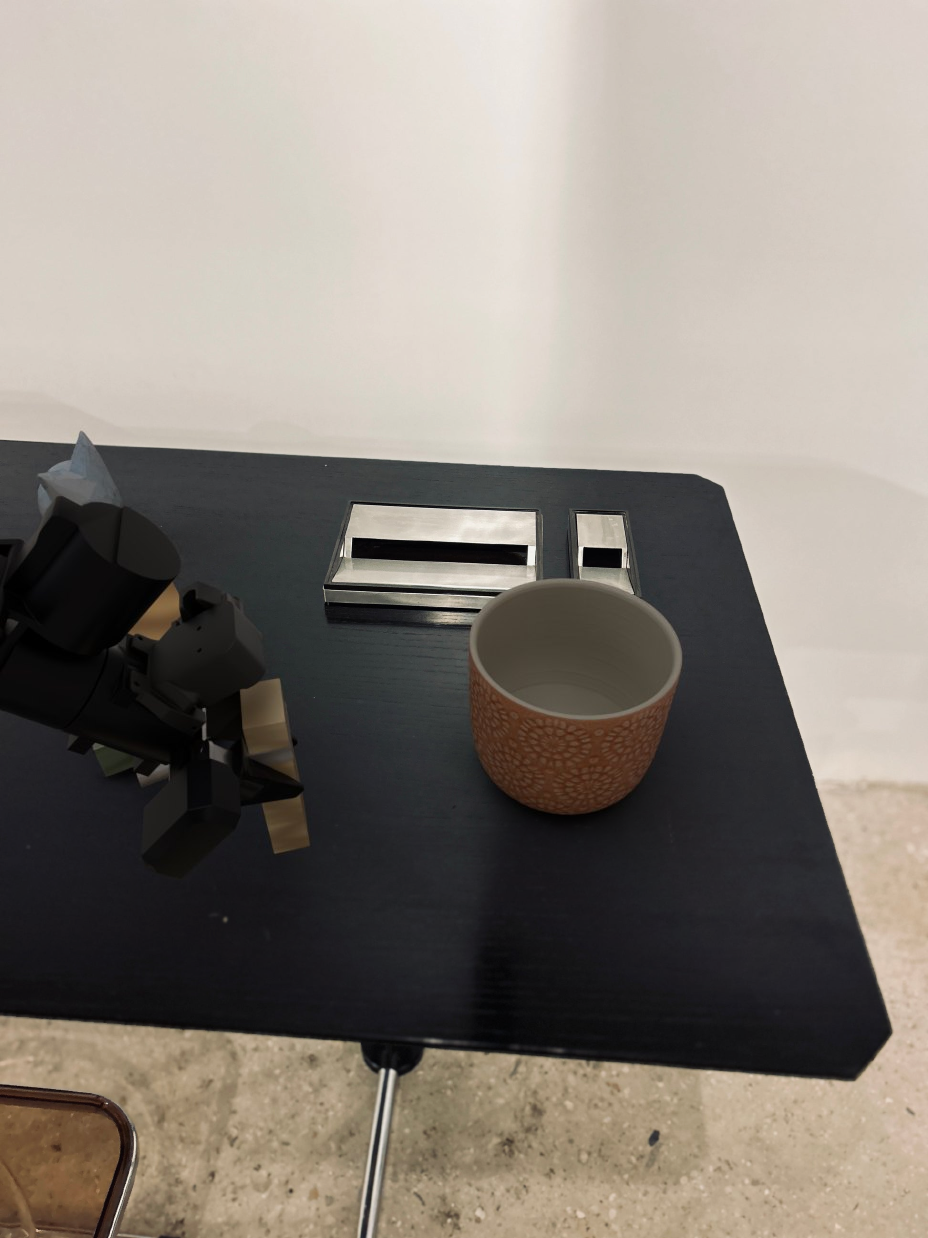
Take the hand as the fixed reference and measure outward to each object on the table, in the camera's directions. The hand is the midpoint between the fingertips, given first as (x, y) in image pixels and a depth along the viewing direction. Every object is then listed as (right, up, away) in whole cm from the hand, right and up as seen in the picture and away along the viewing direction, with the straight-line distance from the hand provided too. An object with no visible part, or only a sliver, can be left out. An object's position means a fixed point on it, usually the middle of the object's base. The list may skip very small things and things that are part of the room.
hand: (297, 768), depth 55 cm
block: (-1, -5, +4) cm, 7 cm away
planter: (+20, -3, +18) cm, 27 cm away
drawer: (-18, +1, +20) cm, 27 cm away
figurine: (-34, +19, +43) cm, 58 cm away
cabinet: (-22, +5, +27) cm, 35 cm away
